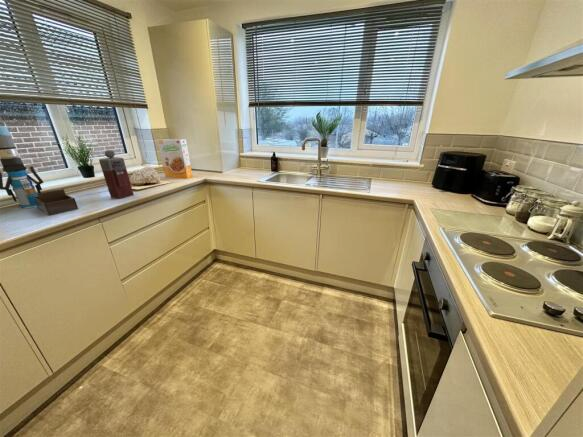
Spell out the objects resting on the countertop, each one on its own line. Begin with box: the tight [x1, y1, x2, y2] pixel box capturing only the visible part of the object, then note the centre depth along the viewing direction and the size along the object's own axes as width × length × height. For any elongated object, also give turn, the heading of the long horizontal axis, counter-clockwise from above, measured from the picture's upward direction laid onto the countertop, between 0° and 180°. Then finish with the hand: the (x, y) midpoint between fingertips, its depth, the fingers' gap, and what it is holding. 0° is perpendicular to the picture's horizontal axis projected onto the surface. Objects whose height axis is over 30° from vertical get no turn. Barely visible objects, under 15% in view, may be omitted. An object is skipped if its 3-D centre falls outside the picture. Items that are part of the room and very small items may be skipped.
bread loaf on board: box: [129, 166, 172, 190], centre depth 174 cm, size 28×22×16 cm
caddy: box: [33, 188, 79, 216], centre depth 129 cm, size 23×12×10 cm, turn 55°
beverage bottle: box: [6, 170, 38, 209], centre depth 131 cm, size 8×8×20 cm
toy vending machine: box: [98, 149, 135, 200], centre depth 144 cm, size 9×11×28 cm
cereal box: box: [157, 138, 193, 180], centre depth 194 cm, size 22×6×30 cm, turn 72°
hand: (28, 198), depth 133 cm, fingers open, 9 cm apart
